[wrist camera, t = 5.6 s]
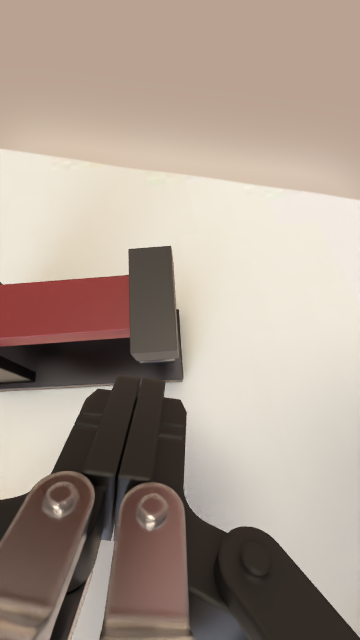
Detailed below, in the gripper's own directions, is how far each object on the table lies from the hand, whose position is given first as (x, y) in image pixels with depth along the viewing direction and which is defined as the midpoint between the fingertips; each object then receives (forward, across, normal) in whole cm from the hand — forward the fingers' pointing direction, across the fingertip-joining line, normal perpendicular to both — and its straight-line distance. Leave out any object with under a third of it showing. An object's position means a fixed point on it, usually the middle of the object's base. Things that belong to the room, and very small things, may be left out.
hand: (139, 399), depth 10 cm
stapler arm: (+9, +5, +2) cm, 11 cm away
